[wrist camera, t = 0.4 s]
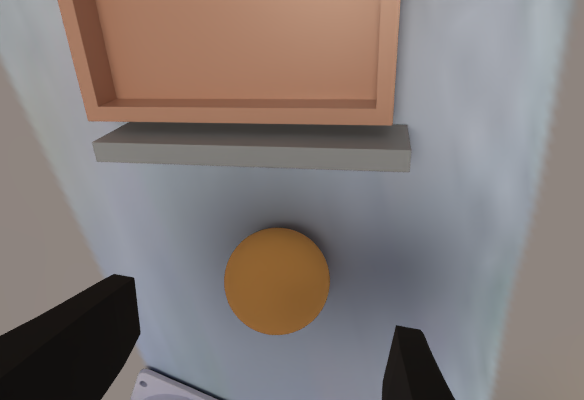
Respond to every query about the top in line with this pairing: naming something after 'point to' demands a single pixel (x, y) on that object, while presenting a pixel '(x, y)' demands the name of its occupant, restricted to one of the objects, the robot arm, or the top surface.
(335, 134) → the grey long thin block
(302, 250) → the ball
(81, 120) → the top surface
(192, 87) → the tray
